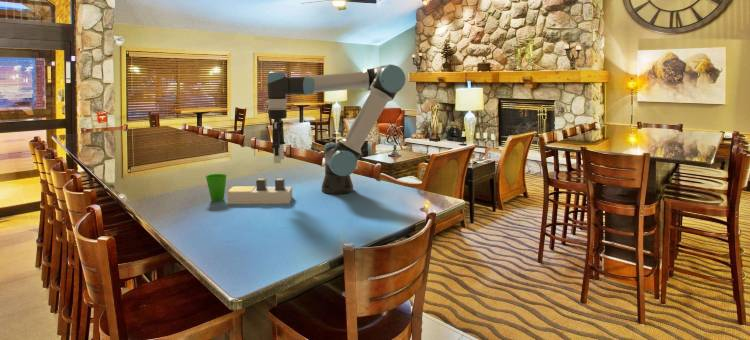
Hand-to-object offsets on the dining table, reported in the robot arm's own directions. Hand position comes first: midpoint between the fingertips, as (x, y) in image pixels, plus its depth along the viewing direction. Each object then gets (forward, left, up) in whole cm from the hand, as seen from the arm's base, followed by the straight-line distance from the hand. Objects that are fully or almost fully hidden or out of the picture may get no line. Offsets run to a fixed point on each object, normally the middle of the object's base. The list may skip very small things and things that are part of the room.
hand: (279, 161), depth 205 cm
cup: (+28, -1, -18) cm, 33 cm away
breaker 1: (+8, 0, -14) cm, 16 cm away
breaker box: (+9, 0, -18) cm, 20 cm away
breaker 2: (0, 0, -14) cm, 14 cm away
